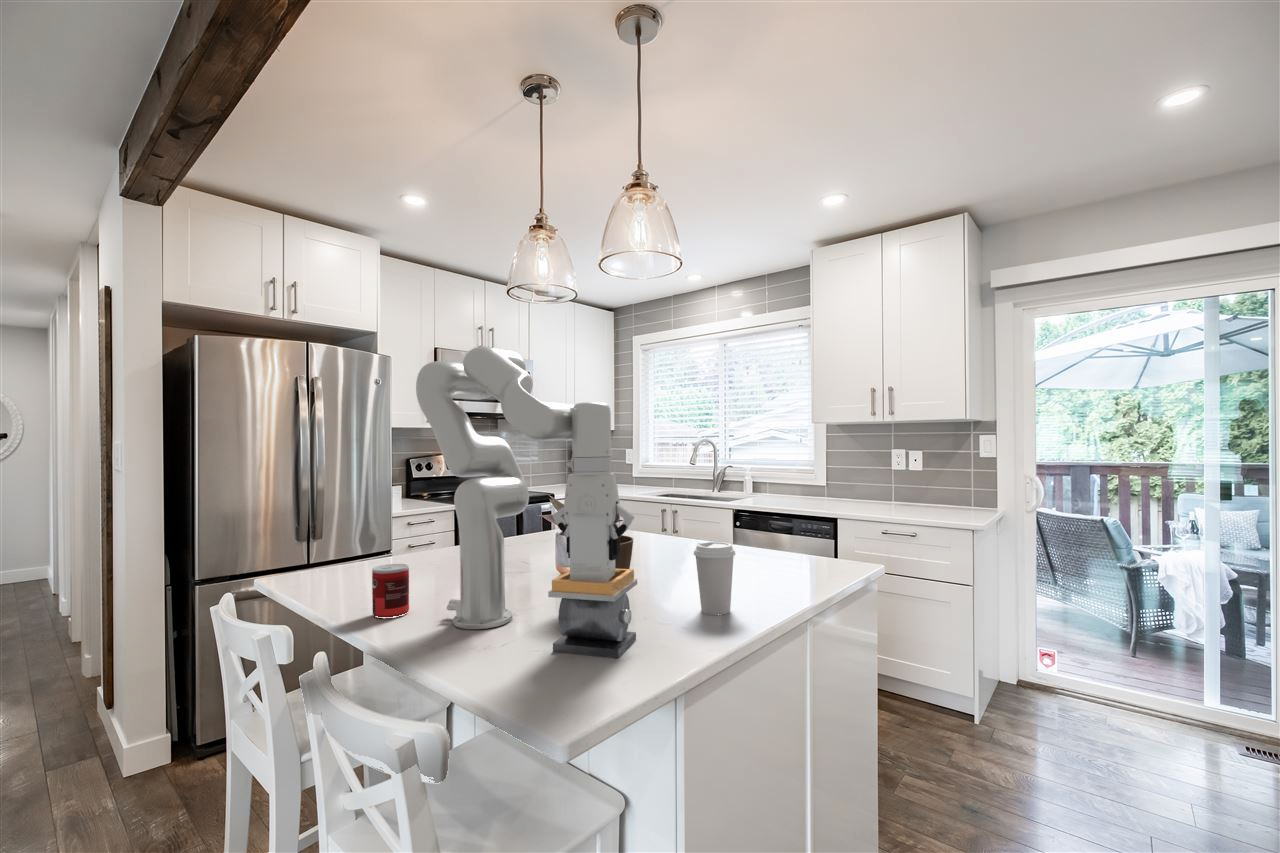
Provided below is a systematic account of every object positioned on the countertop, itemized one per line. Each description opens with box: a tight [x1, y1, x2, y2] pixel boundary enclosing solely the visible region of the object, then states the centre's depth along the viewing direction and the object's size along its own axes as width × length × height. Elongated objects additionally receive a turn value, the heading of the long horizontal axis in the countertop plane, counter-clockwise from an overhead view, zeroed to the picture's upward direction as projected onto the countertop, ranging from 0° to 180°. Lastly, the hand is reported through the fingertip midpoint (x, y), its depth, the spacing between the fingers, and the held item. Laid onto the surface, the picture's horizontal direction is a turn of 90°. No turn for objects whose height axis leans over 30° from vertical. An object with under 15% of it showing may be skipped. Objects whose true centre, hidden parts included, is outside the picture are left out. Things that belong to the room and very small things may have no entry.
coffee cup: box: [693, 541, 736, 616], centre depth 132 cm, size 10×10×15 cm
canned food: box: [371, 563, 410, 617], centre depth 134 cm, size 8×8×11 cm
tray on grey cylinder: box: [547, 568, 638, 659], centre depth 111 cm, size 14×13×14 cm
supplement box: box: [569, 515, 615, 582], centre depth 111 cm, size 7×7×13 cm
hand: (593, 557), depth 111 cm, fingers closed on supplement box, 7 cm apart
